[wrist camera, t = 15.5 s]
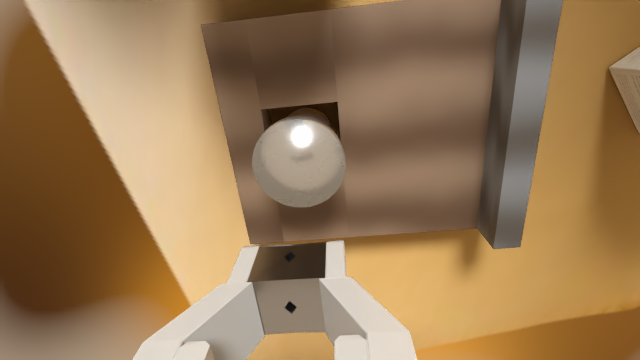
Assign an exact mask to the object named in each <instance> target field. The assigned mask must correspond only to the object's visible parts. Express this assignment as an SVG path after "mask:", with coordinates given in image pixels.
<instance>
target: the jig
mask: <svg viewBox="0 0 640 360" xmlns="http://www.w3.org/2000/svg"><path fill="white" fill-rule="evenodd" d="M562 3H563V0H402V1H394V2H385V3H377V4H369V5H360V6H352V7H344V8H336V9H327V10H319V11H311V12H302V13H294V14H286V15H278V16H269V17H261V18H253V19H244V20H236V21H228V22H219V23H211V24H203V25H201V28H202V33H203V37H204V42H205V46H206V50H207V55H208V59H209V64H210V68H211V72H212V77H213V81H214V86H215V90H216V94H217V99H218V103H219V108H220V112H221V117H222V121H223V125H224V130H225V134H226V139H227V143H228V147H229V152H230V156H231V161H232V165H233V169H234V174H235V178H236V183H237V187H238V192H239V196H240V200H241V205H242V209H243V214H244V218H245V222H246V227H247V231H248V236H249V240H250V244H259V243H274V242H288V241H302V240H317V239H331V238H345V237H360V236H374V235H388V234H402V233H417V232H431V231H445V230H460V229H474V228H477V229H478V230H479V231H480V233H481V234H482V235H483V236H484V238H485V239H486V240H487V241H488V243H489V244H490V245H491V246H492V248H493V249H501V248H516V247H520V246H521V240H522V234H523V228H524V222H525V217H526V211H527V205H528V199H529V194H530V188H531V182H532V176H533V170H534V165H535V159H536V153H537V147H538V142H539V136H540V130H541V124H542V118H543V113H544V107H545V101H546V95H547V89H548V84H549V78H550V72H551V66H552V61H553V55H554V49H555V43H556V37H557V32H558V26H559V20H560V14H561V9H562ZM331 102H337V103H338V116H339V128H340V140H341V143H342V145H343V148H344V153H345V160H346V170H345V175H344V179H343V181H342V183H341V185H340V187H339V189H338V190H337V191H336V192H335V193H334V194H333V195H332V196H331V197H330V198H329V199H327V200H326V201H324V202H322V203H320V204H317V205H314V206H310V207H291V206H287V205H284V204H281V203H279V202H277V201H275V200H274V199H272V198H271V197H270V196H268V195H267V194H266V193H265V192H264V191H263V190H262V188H261V187H260V186H259V184H258V182H257V180H256V178H255V176H254V172H253V167H252V157H253V152H254V148H255V146H256V144H257V142H258V140H259V139H260V137H261V136H262V134H263V133H264V132H265V131H266V130H267V128H269V127H270V126H271V125H272V124H271V117H270V111H269V109H270V108H280V107H290V106H300V105H310V104H320V103H331Z"/></svg>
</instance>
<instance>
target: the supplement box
mask: <svg viewBox="0 0 640 360" xmlns="http://www.w3.org/2000/svg"><path fill="white" fill-rule="evenodd" d="M609 70H610V73H611V75H612V77H613V79H614V81H615V83H616V86H617V88H618V90H619V92H620V95H621V97H622V99H623V101H624V103H625V105H626V108H627V110H628V112H629V114H630V116H631V118H632V120H633V122H634V125H635V127H636V129H637V130H638V132H639V134H640V47H638V48H637V49H635V50H634V51H632V52H631V53H629V54H628V55H626V56H625V57H624V58H622V59H621V60H619V61H618V62H616V63H615V64H613V65H612V66H610V67H609Z"/></svg>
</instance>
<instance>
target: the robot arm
mask: <svg viewBox="0 0 640 360" xmlns="http://www.w3.org/2000/svg"><path fill="white" fill-rule="evenodd" d="M295 332H326V334H327V336H328V338H329V339H330V341H331V342H332V344H333V346H334V347H335V356H334V360H417V357H416V353H415V349H414V346H413V342H412V338H411V334H410V331H409V330H408V329H406V328H405V327H404V326H403V325H402V324H401V323H400V322H399V321H398V320H397V319H396V318H395V317H394V316H393V315H392V314H390V313H389V312H388V311H387V310H386V309H385V308H384V307H383V306H382V305H381V304H380V303H379V302H378V301H377V300H376V299H374V298H373V297H372V296H371V295H370V294H369V293H368V292H367V291H366V290H365V289H364V288H363V287H362V286H361V285H360V284H358V283H357V282H356V281H355V280H354V279H353V278H352V277H347V272H346V259H345V246H344V241H343V240H339V241H329V242H321V243H308V244H295V245H294V244H285V245H261V246H245V247H243V248H242V249H241V251H240V254H239V256H238V258H237V261H236V263H235V265H234V268H233V270H232V272H231V275H230V277H229V279H228V281H227V284H221V285H219V286H218V287H217V288H215V289H214V290H213V291H211V292H210V293H209V294H207V295H206V296H205V297H203V298H202V299H200V300H199V301H198V302H196V303H195V304H194V305H192V306H191V307H190V308H189V309H187V310H186V311H184V312H183V313H182V314H180V315H179V316H178V317H176V318H175V319H174V320H172V321H171V322H170V323H168V324H167V325H165V326H164V327H163V328H162V329H160V330H159V331H157V332H156V333H155V334H153V335H152V336H151V337H149V338H148V339H147V340H145V341H144V342H143V344H142V345H141V347H140V348H139V350H138V352H137V353H136V355H135V356H134V358H133V360H246V359H247V358H248V357H249V355H250V354H251V353H252V352H253V350H254V349H255V348H256V347H257V345H258V344H259V343H260V342H261V340H262V339H263V338H264V337H265V336H264V335H266V334H281V333H295Z"/></svg>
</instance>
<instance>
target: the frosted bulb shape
mask: <svg viewBox="0 0 640 360" xmlns="http://www.w3.org/2000/svg"><path fill="white" fill-rule="evenodd" d="M252 167H253V172H254V176H255V178H256V180H257V182H258V184H259V186H260V187H261V188H262V190H263V191H264V192H265V193H266V194H267V195H268V196H270V197H271V198H272V199H274V200H275V201H277V202H279V203H281V204H284V205H287V206H291V207H310V206H314V205H317V204H320V203H322V202H324V201H326V200H327V199H329V198H330V197H331V196H332V195H333V194H334V193H335V192H336V191H337V190H338V189H339V187H340V185H341V183H342V181H343V179H344V175H345V170H346V160H345V153H344V148H343V145H342V143H341V141H340V139H339V137H338V136H337V135H336V133H335V132H334V131H333V130H332V126H331V123H330V121H329V119H328V118H327V117H326V116H325V115H324V114H323V113H322V112H320V111H319V110H316V109H313V108H300V109H297V110H295V111H294V112H292V113H291V114H290V115H289V116H288V117H287V118H284V119H281V120H279V121H277V122H275V123H274V124H272V125H271V126H270V127H269V128H267V130H266V131H265V132H264V133H263V134H262V136H261V137H260V139H259V140H258V142H257V144H256V146H255V148H254V152H253V157H252Z"/></svg>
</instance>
